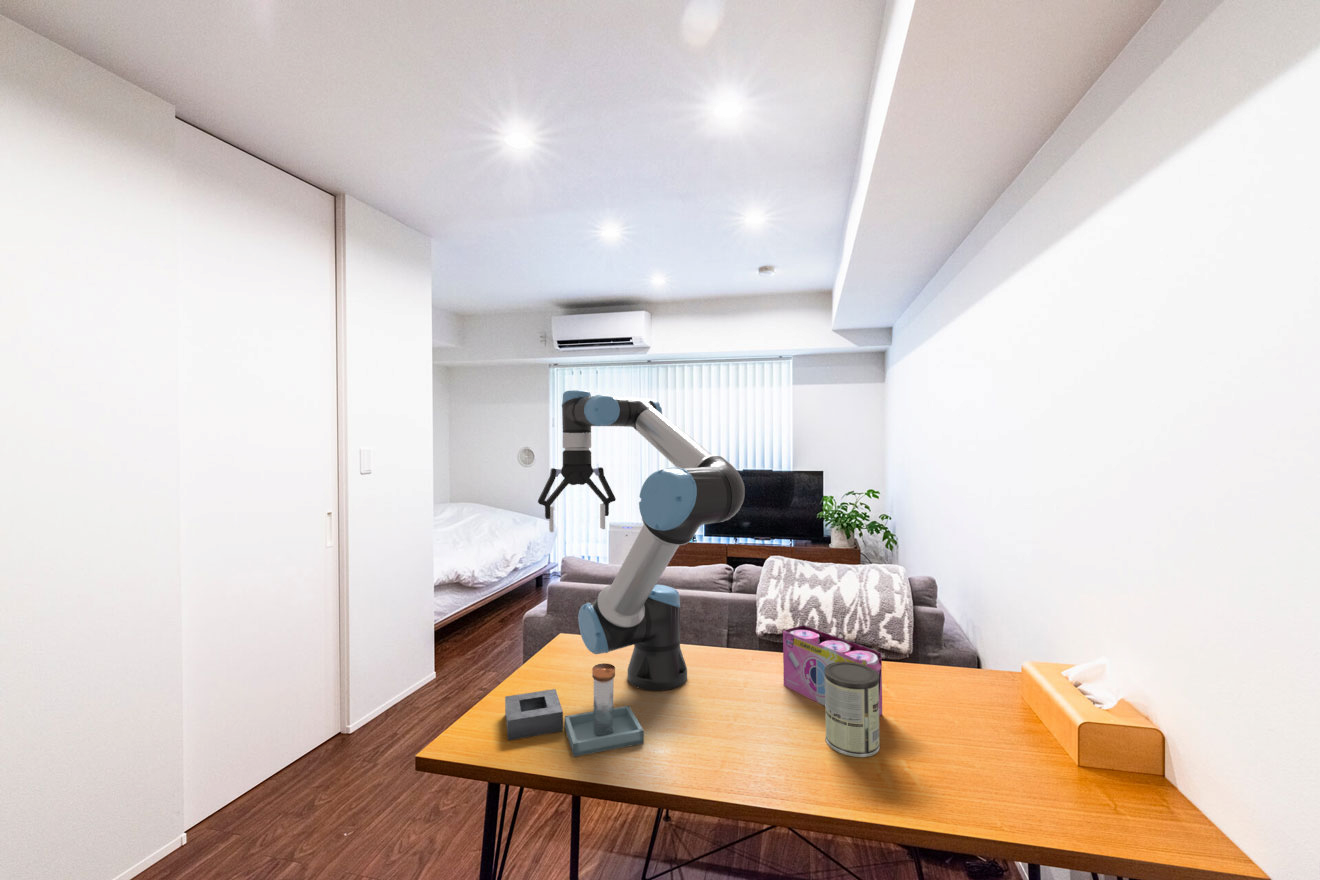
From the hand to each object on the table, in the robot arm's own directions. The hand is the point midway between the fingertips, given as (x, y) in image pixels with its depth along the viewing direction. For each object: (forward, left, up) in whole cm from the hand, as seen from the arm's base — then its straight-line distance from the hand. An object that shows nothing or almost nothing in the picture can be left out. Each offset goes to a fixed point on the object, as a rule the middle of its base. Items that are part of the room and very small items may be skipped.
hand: (577, 530), depth 144 cm
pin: (+1, +34, -36) cm, 49 cm away
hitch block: (+14, +24, -37) cm, 46 cm away
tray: (+1, +34, -37) cm, 50 cm away
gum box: (-52, +36, -37) cm, 73 cm away
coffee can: (-45, +53, -37) cm, 79 cm away
